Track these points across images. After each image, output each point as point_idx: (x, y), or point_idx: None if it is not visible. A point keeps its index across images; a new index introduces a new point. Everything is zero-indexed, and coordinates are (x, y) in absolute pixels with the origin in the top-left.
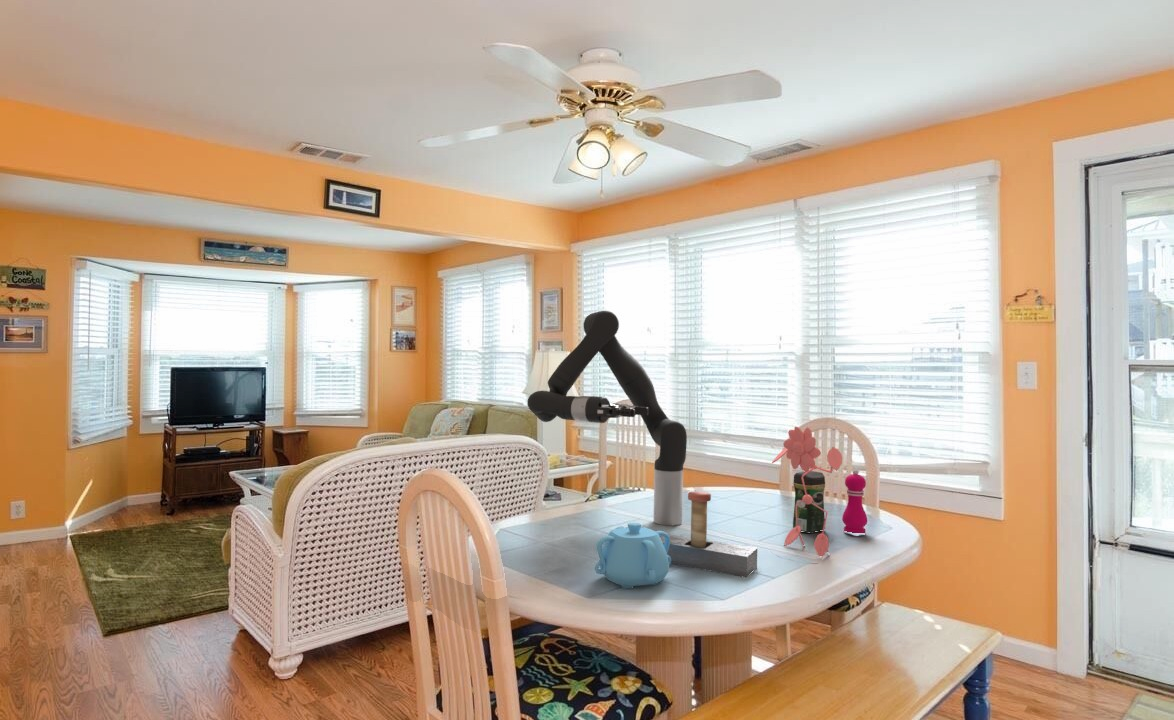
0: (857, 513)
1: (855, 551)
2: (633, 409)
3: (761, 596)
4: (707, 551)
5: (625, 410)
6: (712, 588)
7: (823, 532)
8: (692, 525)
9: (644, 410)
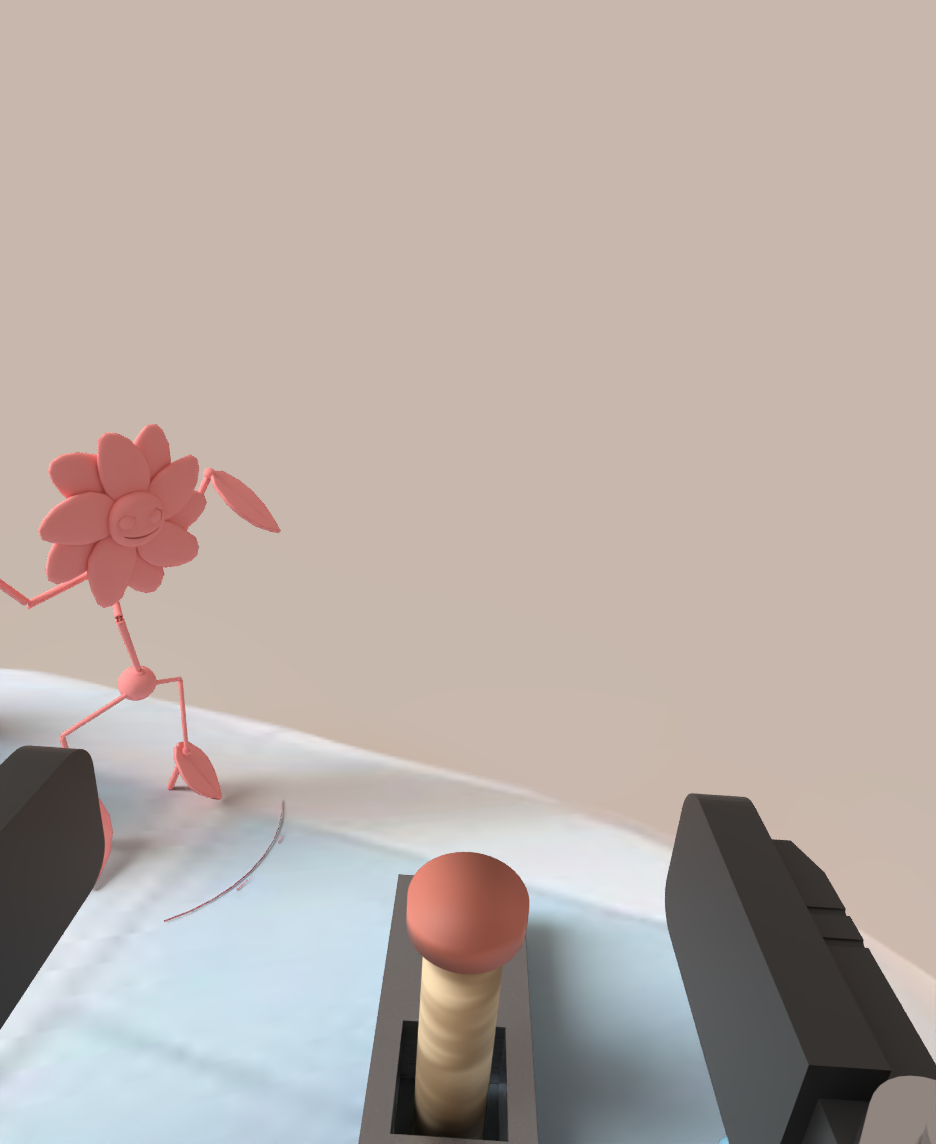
0: None
1: (113, 745)
2: (741, 797)
3: (645, 877)
4: (529, 1017)
5: (870, 960)
6: None
7: (187, 737)
8: (490, 1038)
9: (58, 836)
